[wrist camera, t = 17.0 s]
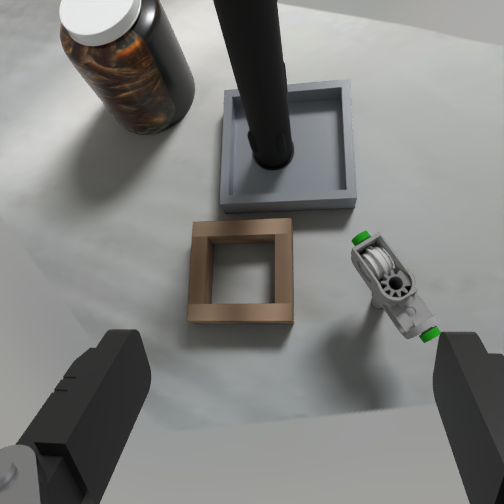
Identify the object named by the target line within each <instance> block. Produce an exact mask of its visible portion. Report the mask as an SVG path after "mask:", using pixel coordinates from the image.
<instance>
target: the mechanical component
mask: <svg viewBox="0 0 504 504" xmlns="http://www.w3.org/2000/svg"><path fill="white" fill-rule="evenodd" d="M352 242H353V244H354V245H355V247H354V248H352V251H351V255H352V256H351V260H352V263H353V265H354V266H355V268H356V270H357V271H358V273H359V274H360V276H361V277H362V278H363V280H364V281H365V283H366V284H367V286H368V287H369V288H370V290H371V291H372V300H371V302H372V305H373V306H374V307H375V308H377V309H380V308H382V307H383V309H384V310H385V312H386V313H387V314H388V316H389V317H390V319H391V320H392V322H393V323H394V324H395V326H396V327H397V329H398V330H399V331H400V333H401V334H402V335H403V336H404V337H405V338H407V339H410V338H413V337H415V336H417V335H418V334H420V333H422V334H421V335H420V336H419V337H420V338H421V340H422V341H423V342H424V343H425V342H427V341H429V340H431V339H433V338H435V337H436V336H438V335H439V334H441V332H440V330H439V329H438V328H437V326H435V327H433V328H432V326H434V325H435V324H437V323H438V322H440V320H439V319H438V317H437V316H436V315H433V314H432V313H431V312H430V310H429V309H428V308H427V306H426V305H425V304H424V302H423V301H422V299H421V298H420V297H419V295H418V294H417V293H416V292H417V291H418V290H417V288H416V287H415V278H414V276H413V274H412V273H411V272H410V271H409V270H408V269H407V268H405V266H404V265H403V264H402V262H401V261H400V260H399V258H398V257H397V256H396V254H395V253H394V251H393V250H392V249H391V247H390V246H389V245H388V243H387V242H386V241H385V239H384V238H383V237H382V235H381V234H380V233H379V232H378V233H377V234H375V235H373V236H372V237H371V236H370V235H369V233H368V232H367V231H364V232H362V233H360V234H358V235H357V236H356V237H354V238H353V239H352ZM382 248H384V249H385V250H386V251H387V252H388V253H389V255H390V256H391V258H392V259H393V261H394V264H395V266H394V265H393V264H392V261H391V260H390V258H389V256H388V255H387V254H386V253H385V251H383V249H382Z"/></svg>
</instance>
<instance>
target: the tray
mask: <svg viewBox="0 0 504 504" xmlns="http://www.w3.org/2000/svg"><path fill="white" fill-rule="evenodd" d="M287 89H288V92H287V100H288V109H289V118H290V128H291V137H292V141H293V144H294V156H293V159H292V160H291V162H290V163H289V164H288V165H287V166H285V167H284V168H282V169H279V170H266V169H263V168H261V167H260V166H259V165H258V164H257V163H256V162H255V160H254V157H253V151H252V150H251V147H250V144H249V140H248V137H247V134H248V131H249V126H248V122H247V119H246V115H245V112H244V108H243V105H242V101H241V97H240V94H239V90H238V89H235V90H224V114H223V137H222V161H221V185H220V205H221V207H222V209H223V210H224V212H225V214H233V213H256V212H280V211H304V210H327V209H351V208H355V204H356V199H357V192H356V175H355V158H354V141H353V124H352V107H351V89H350V79H345V80H334V81H323V82H312V83H301V84H290V85H287Z"/></svg>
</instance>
